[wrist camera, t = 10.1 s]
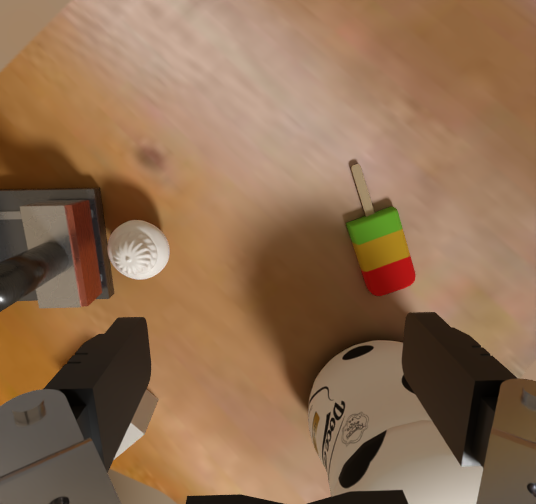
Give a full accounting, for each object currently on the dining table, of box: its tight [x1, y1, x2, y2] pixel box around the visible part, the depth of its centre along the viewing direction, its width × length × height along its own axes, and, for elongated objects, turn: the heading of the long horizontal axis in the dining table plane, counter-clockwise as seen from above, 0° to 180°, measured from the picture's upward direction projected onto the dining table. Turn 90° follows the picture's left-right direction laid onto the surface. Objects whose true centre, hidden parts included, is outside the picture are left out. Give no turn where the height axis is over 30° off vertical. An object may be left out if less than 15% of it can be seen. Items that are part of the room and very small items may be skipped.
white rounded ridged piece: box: [107, 220, 170, 279], centre depth 38 cm, size 6×6×7 cm
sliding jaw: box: [0, 200, 102, 312], centre depth 33 cm, size 10×5×13 cm, turn 1°
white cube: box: [114, 389, 159, 459], centre depth 44 cm, size 6×6×6 cm
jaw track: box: [0, 188, 114, 301], centre depth 38 cm, size 12×16×6 cm
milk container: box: [308, 340, 483, 504], centre depth 38 cm, size 17×17×18 cm
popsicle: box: [346, 164, 415, 296], centre depth 41 cm, size 6×15×2 cm, turn 21°
